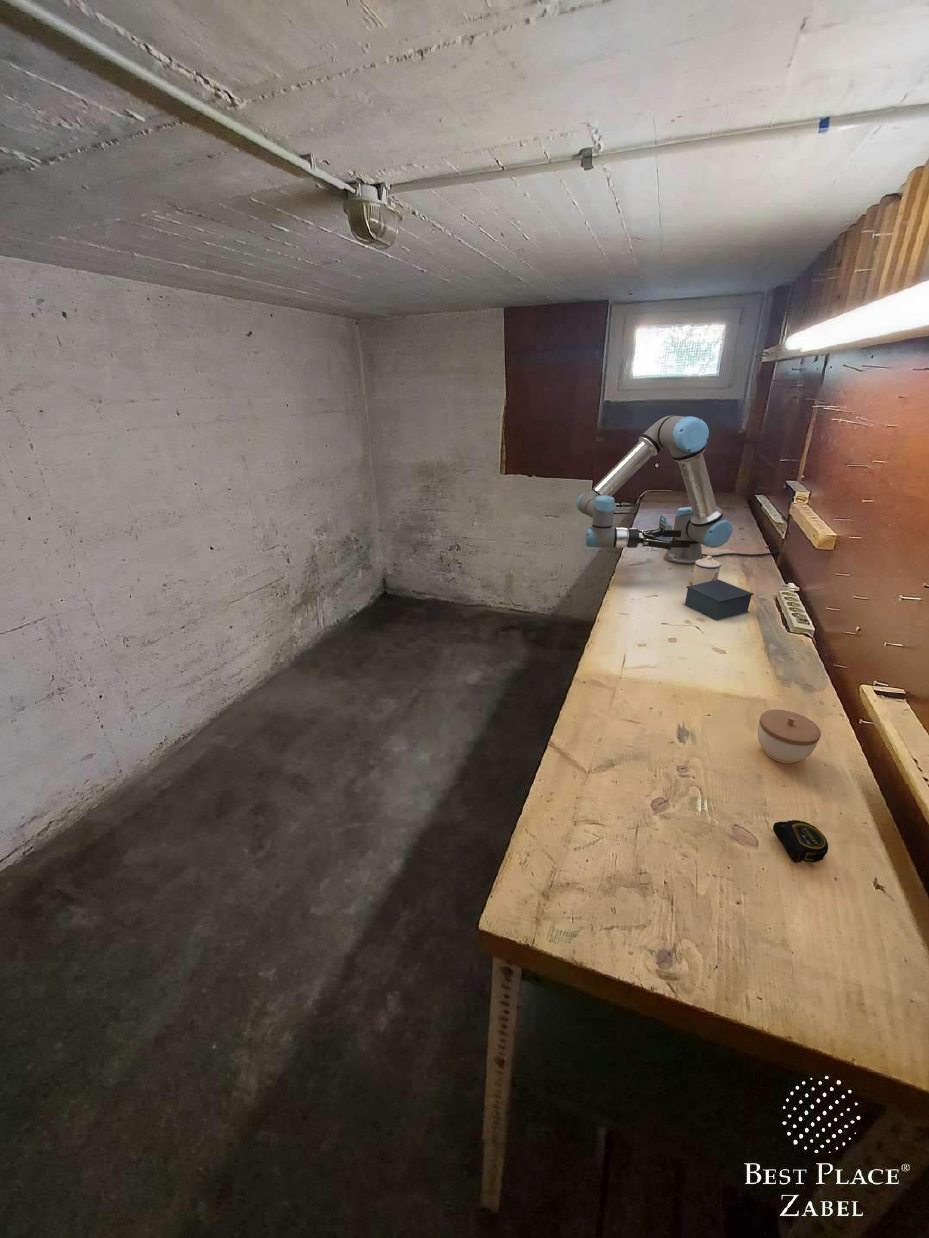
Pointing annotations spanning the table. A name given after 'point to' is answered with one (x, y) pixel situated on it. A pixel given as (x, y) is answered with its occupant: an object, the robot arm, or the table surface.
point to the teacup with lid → (705, 570)
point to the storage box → (718, 599)
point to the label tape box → (664, 527)
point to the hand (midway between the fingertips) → (685, 538)
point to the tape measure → (801, 841)
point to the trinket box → (787, 735)
